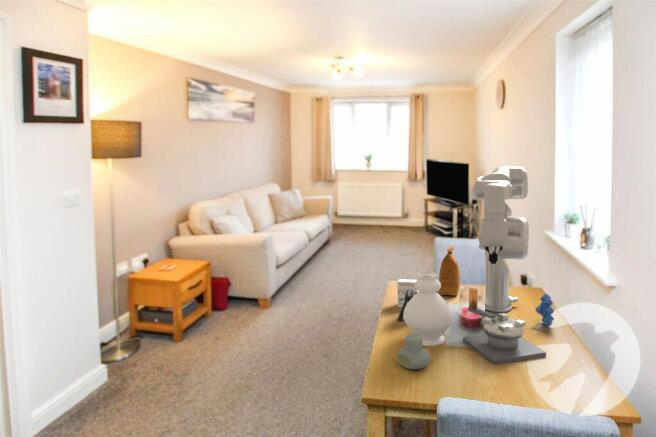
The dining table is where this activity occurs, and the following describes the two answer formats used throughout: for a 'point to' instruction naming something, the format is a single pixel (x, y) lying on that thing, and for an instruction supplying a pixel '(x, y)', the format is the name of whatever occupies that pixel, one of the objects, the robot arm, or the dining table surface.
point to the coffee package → (449, 275)
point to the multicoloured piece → (496, 321)
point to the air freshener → (413, 353)
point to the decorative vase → (428, 311)
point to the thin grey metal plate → (503, 349)
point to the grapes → (545, 310)
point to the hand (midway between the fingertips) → (493, 263)
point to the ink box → (403, 287)
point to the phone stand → (407, 299)
